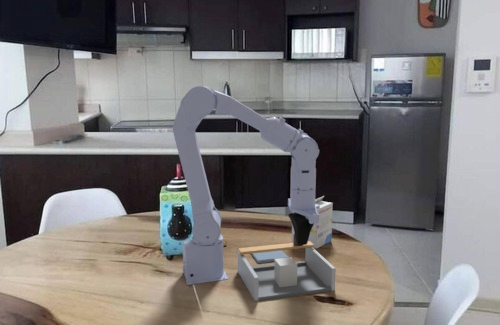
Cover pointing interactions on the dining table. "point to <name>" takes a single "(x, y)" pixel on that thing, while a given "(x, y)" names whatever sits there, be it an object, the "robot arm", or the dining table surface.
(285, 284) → the block
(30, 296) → the dining table surface
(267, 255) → the pad
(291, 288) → the case
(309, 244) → the bar
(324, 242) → the ink box
